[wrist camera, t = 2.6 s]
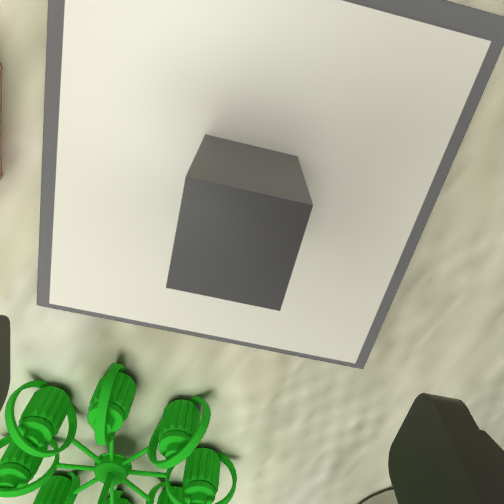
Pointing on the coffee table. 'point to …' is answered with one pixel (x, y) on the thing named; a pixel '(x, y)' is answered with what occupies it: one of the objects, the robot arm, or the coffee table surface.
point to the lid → (247, 162)
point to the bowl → (0, 121)
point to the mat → (500, 34)
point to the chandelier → (109, 464)
